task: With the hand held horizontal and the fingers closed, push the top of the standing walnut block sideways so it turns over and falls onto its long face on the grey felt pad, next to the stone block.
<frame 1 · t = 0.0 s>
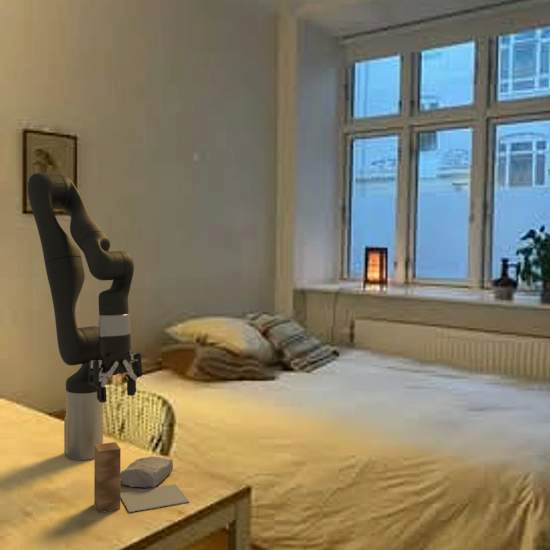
hand: (117, 398, 156), 17 cm above the table, tool pointing down, fingers open, 8 cm apart
walnut block: (107, 506, 135), on the table
felt pad: (153, 498, 139), on the table
stone block: (145, 478, 150), on the table, touching felt pad
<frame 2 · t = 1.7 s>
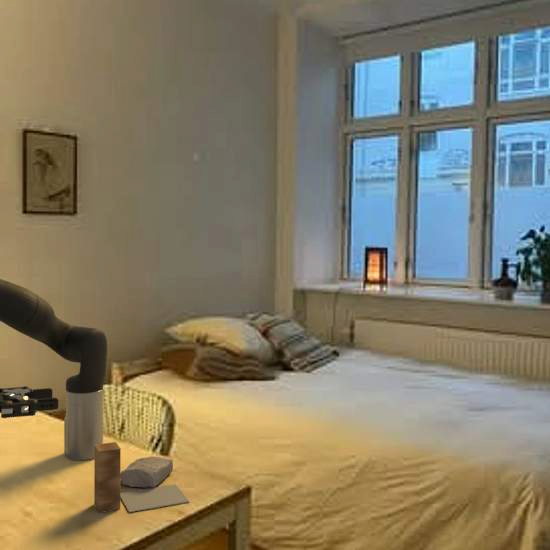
hand: (54, 398, 128), 24 cm above the table, tool horizontal, fingers open, 8 cm apart
nothing on the table moved.
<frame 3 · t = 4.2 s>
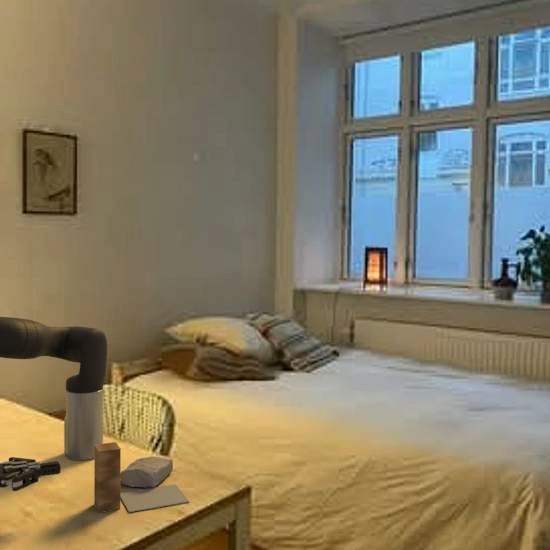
hand: (59, 467, 130), 10 cm above the table, tool horizontal, fingers closed
nothing on the table moved.
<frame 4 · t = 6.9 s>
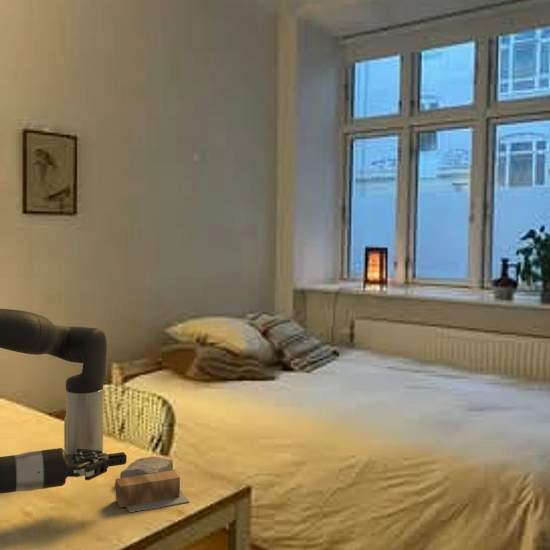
hand: (125, 457, 136), 10 cm above the table, tool horizontal, fingers closed
walnut block: (117, 493, 136), point 3 cm above the table, tilted 90°, touching felt pad
everything else where it was.
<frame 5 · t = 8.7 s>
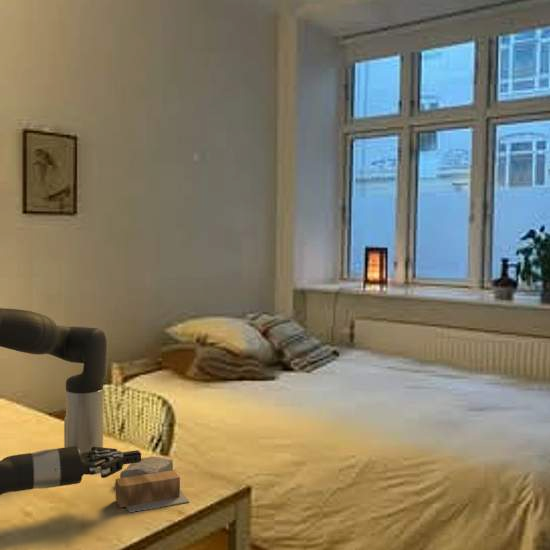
hand: (140, 455, 137), 10 cm above the table, tool horizontal, fingers closed
nothing on the table moved.
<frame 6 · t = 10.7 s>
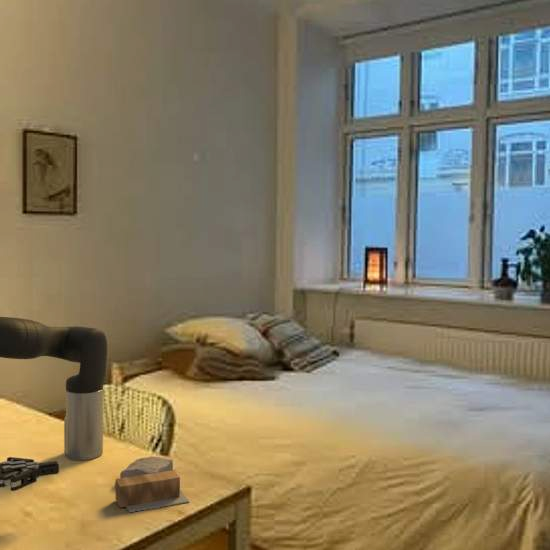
hand: (58, 467, 130), 10 cm above the table, tool horizontal, fingers closed
nothing on the table moved.
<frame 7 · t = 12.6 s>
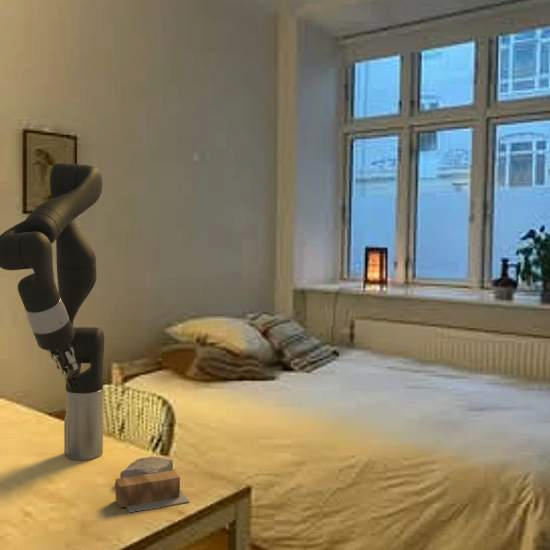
hand: (75, 387, 138), 24 cm above the table, tool tilted 25°, fingers closed
nothing on the table moved.
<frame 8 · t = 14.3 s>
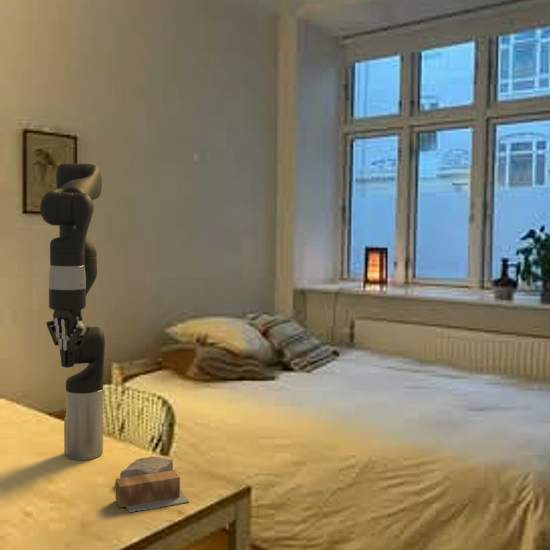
hand: (67, 366, 137), 29 cm above the table, tool pointing down, fingers closed
nothing on the table moved.
at the end: walnut block tilted 90°; walnut block inside the target area (5.1 cm from its centre), point 2.5 cm above the table; the gripper is holding nothing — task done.
